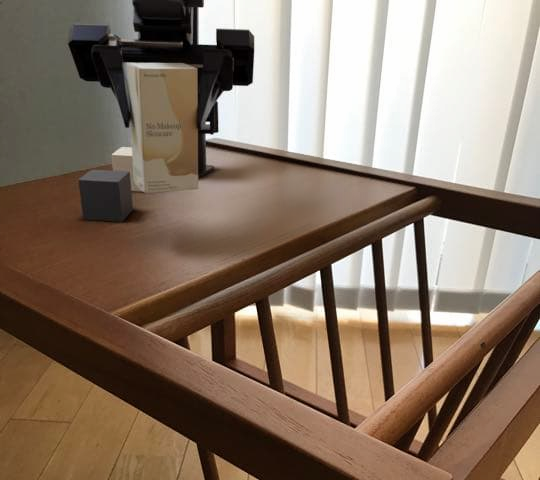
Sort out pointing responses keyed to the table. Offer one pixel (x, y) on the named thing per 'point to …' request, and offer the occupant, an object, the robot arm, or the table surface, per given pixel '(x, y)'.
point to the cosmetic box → (164, 126)
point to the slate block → (106, 195)
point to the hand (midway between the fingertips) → (162, 126)
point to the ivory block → (124, 164)
